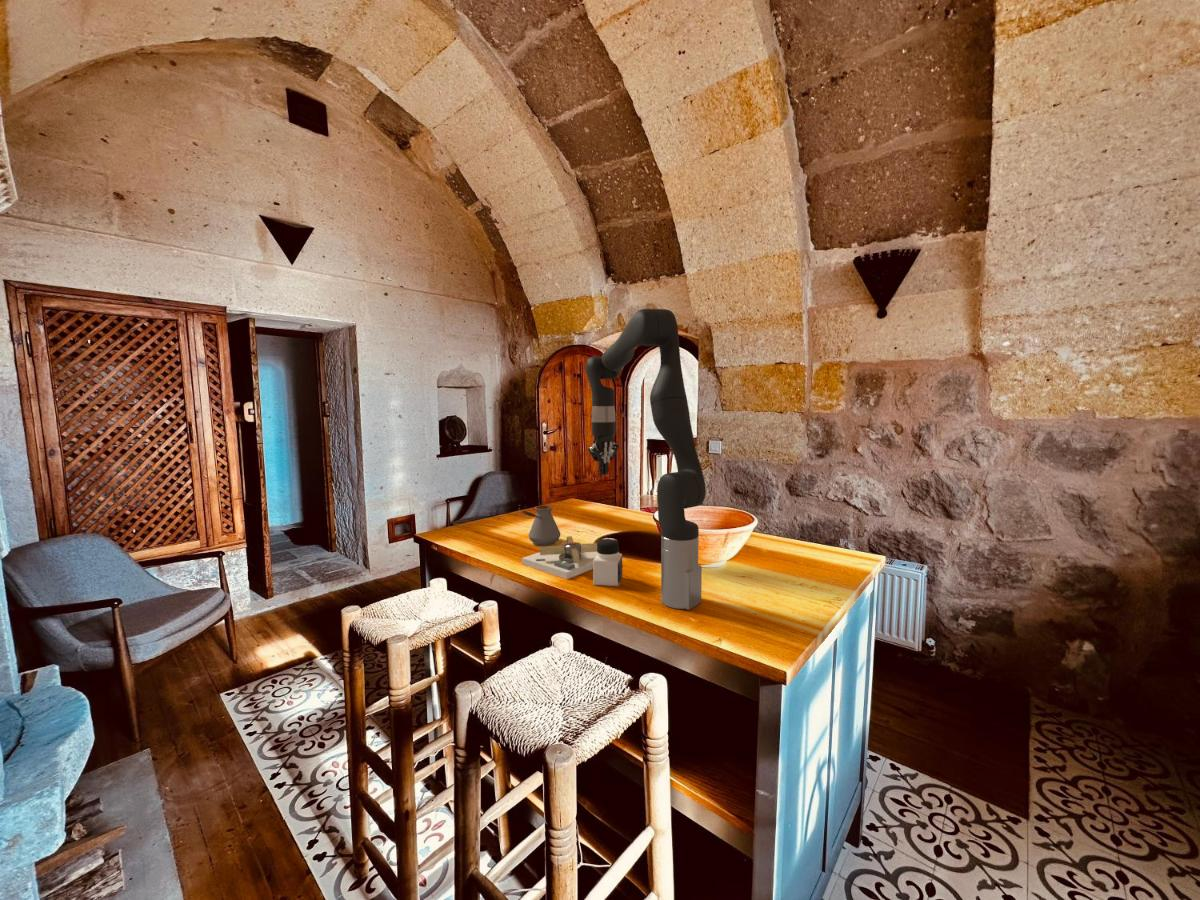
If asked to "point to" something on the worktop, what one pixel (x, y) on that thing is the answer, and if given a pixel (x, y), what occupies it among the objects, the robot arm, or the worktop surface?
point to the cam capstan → (569, 550)
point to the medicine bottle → (607, 563)
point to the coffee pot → (543, 526)
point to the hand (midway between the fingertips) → (604, 474)
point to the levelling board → (560, 564)
